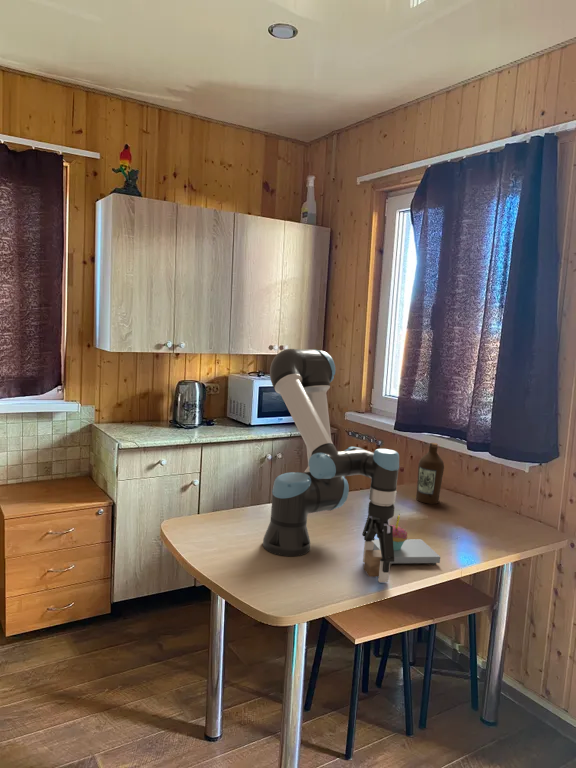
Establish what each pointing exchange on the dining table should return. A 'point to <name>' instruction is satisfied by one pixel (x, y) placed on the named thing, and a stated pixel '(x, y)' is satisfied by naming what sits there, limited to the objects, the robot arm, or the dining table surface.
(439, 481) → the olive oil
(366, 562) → the walnut block
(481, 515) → the dining table surface
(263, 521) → the dining table surface
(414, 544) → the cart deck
